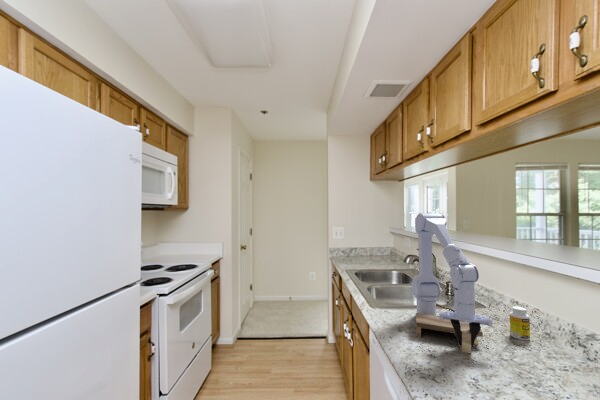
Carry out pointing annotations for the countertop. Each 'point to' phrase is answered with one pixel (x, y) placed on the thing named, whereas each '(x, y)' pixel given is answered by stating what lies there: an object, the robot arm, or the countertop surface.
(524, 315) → the supplement bottle
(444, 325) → the low wooden bench
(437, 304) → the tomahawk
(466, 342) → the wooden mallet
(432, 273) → the robot arm
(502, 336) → the countertop surface
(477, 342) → the brass disc
